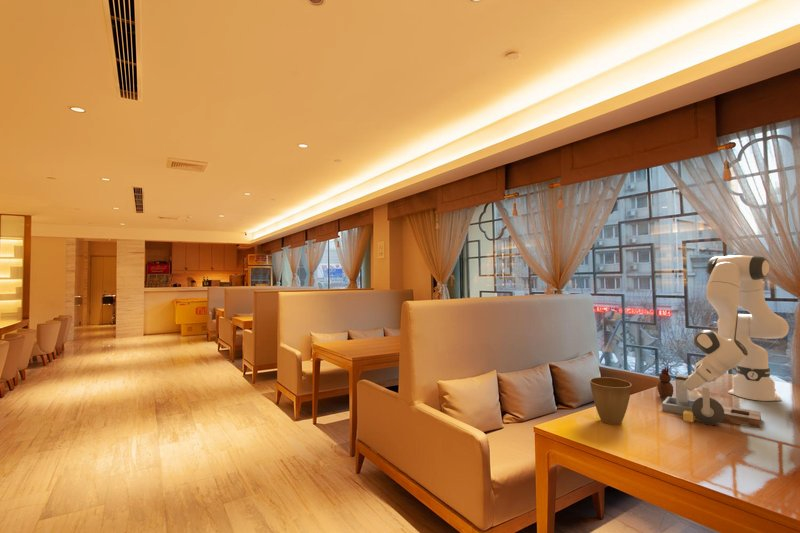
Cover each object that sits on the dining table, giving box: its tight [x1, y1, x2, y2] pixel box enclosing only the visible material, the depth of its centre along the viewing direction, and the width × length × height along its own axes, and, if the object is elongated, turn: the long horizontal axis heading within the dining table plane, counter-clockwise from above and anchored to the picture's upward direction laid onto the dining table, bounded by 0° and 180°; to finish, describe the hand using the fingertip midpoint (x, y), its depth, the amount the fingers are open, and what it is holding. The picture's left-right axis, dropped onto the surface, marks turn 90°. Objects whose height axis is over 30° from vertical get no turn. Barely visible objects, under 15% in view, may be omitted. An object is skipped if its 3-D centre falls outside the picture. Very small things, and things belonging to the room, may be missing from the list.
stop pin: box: [675, 374, 689, 407], centre depth 175 cm, size 4×4×12 cm
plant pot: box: [589, 376, 632, 426], centre depth 162 cm, size 15×15×16 cm
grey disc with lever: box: [682, 385, 724, 426], centre depth 159 cm, size 7×13×15 cm, turn 47°
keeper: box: [721, 405, 762, 428], centre depth 162 cm, size 12×12×3 cm
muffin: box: [689, 388, 702, 401], centre depth 184 cm, size 6×6×7 cm
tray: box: [661, 396, 695, 415], centre depth 175 cm, size 13×13×3 cm
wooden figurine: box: [657, 366, 674, 399], centre depth 193 cm, size 7×6×15 cm
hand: (680, 389), depth 175 cm, fingers closed on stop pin, 4 cm apart
